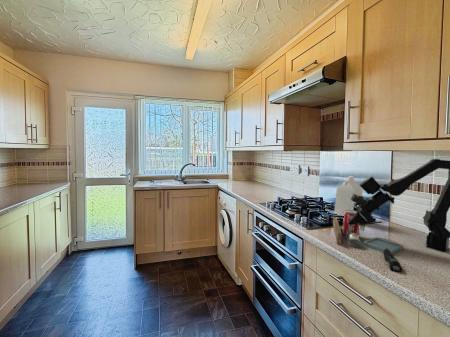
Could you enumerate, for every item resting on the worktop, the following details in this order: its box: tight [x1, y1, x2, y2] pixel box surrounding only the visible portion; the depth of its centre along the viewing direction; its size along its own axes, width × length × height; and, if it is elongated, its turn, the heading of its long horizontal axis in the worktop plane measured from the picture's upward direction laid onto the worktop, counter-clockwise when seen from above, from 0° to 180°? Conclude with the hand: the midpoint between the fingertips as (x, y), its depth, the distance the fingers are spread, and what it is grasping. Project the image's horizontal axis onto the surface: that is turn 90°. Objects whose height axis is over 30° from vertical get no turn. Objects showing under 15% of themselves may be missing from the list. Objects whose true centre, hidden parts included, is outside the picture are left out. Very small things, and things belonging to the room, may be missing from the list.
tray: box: [362, 236, 404, 255], centre depth 106 cm, size 11×11×2 cm
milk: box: [333, 175, 363, 216], centre depth 147 cm, size 12×12×26 cm
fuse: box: [348, 233, 360, 244], centre depth 109 cm, size 4×4×5 cm
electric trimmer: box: [382, 248, 403, 274], centre depth 92 cm, size 4×16×3 cm, turn 157°
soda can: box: [342, 210, 361, 237], centre depth 119 cm, size 7×7×12 cm
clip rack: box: [332, 216, 361, 248], centre depth 121 cm, size 10×30×5 cm, turn 160°
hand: (348, 222), depth 120 cm, fingers closed on soda can, 7 cm apart
